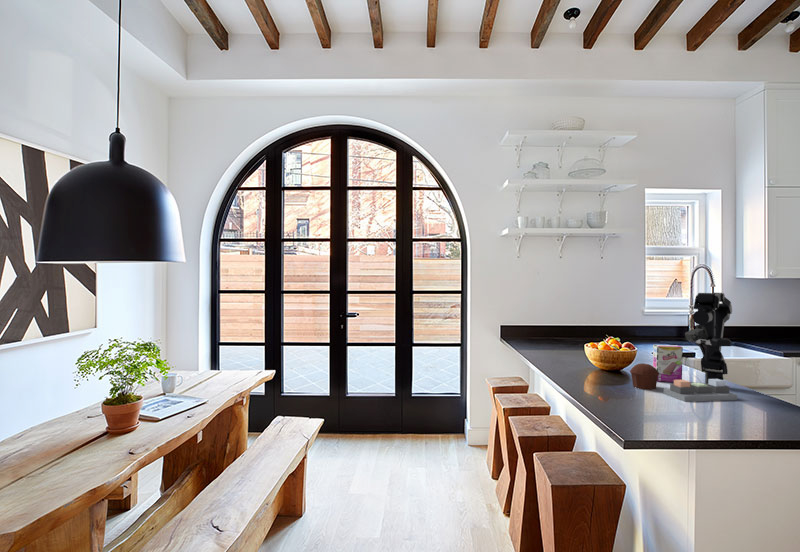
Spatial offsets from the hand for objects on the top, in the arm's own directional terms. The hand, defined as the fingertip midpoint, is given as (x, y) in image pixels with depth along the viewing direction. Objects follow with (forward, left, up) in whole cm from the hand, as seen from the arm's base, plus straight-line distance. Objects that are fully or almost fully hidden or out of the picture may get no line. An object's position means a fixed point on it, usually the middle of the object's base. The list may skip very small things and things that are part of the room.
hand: (706, 360), depth 193 cm
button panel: (+7, -9, -13) cm, 17 cm away
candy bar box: (-20, -3, -13) cm, 24 cm away
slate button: (+7, -1, -9) cm, 12 cm away
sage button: (+7, -9, -11) cm, 16 cm away
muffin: (-10, -21, -13) cm, 27 cm away
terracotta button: (+7, -16, -9) cm, 20 cm away
